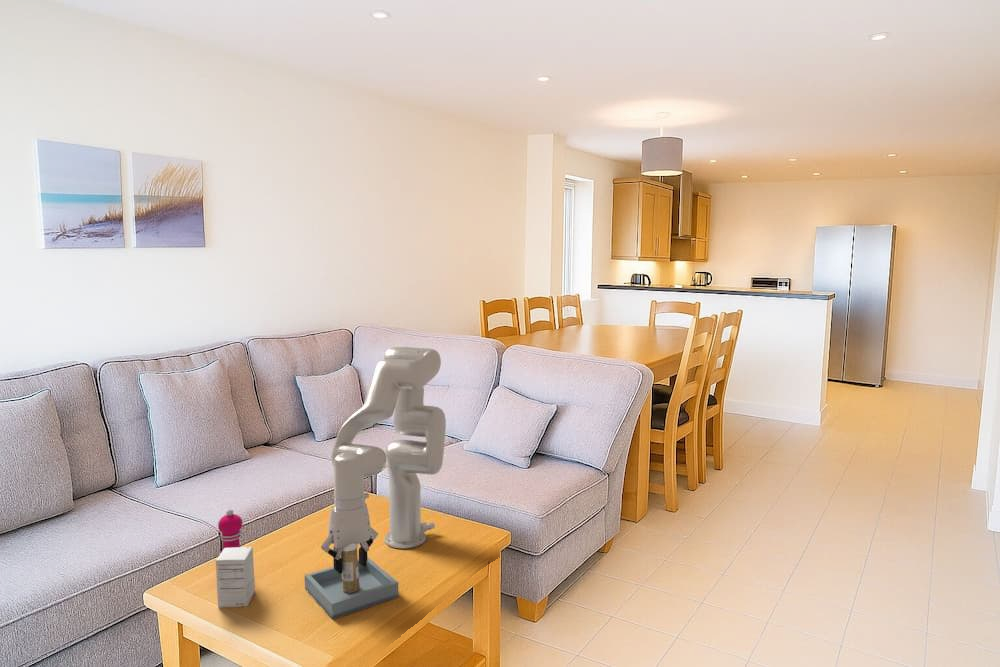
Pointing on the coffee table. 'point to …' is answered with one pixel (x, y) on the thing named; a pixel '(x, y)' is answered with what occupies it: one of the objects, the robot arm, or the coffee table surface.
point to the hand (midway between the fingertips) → (350, 567)
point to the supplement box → (235, 577)
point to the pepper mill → (230, 529)
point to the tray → (339, 603)
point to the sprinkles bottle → (350, 569)
